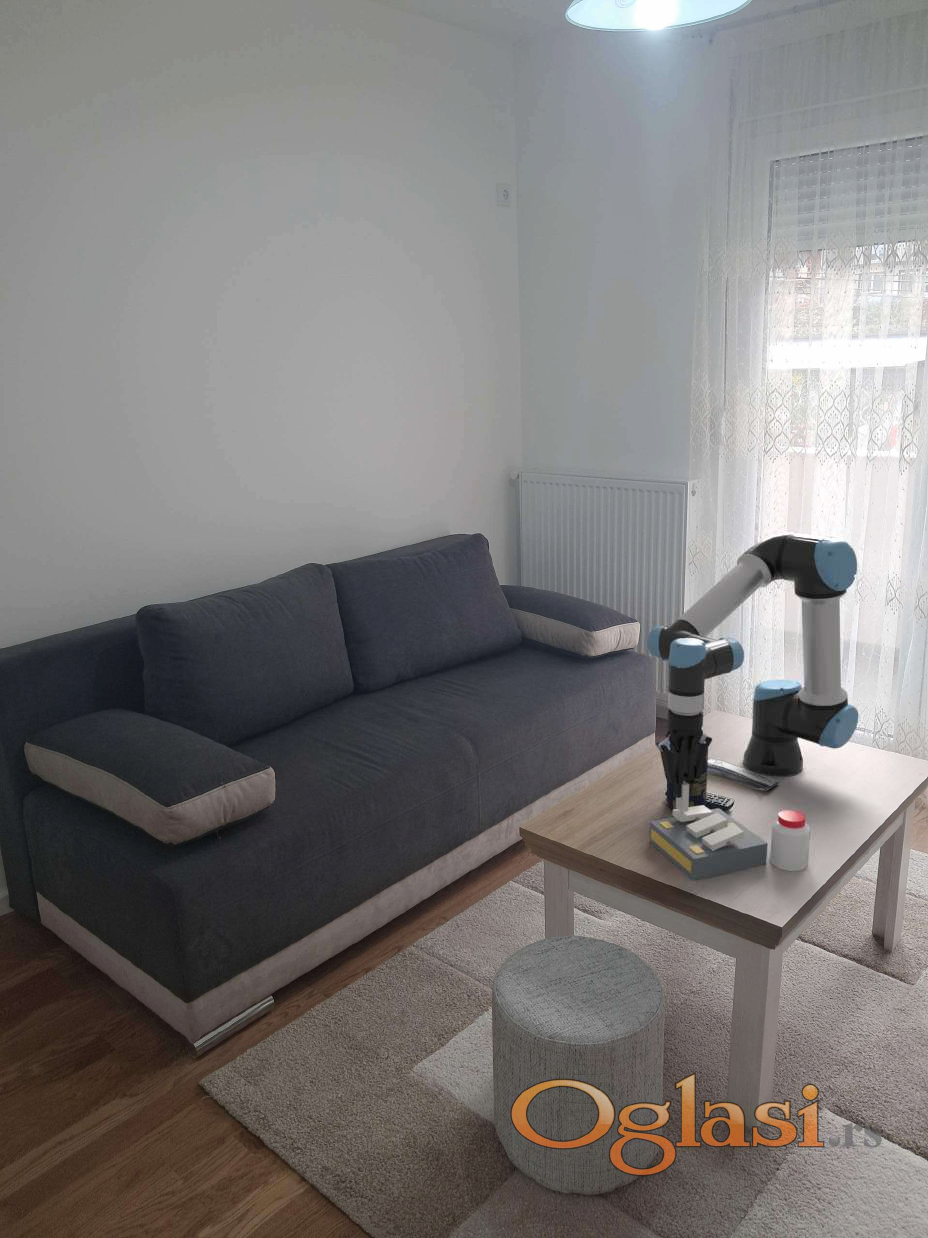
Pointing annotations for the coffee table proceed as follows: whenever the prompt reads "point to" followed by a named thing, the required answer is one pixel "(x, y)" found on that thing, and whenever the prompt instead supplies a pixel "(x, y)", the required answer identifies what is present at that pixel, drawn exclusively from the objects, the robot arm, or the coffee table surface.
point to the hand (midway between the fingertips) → (681, 809)
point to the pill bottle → (790, 841)
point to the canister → (697, 789)
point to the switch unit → (706, 848)
